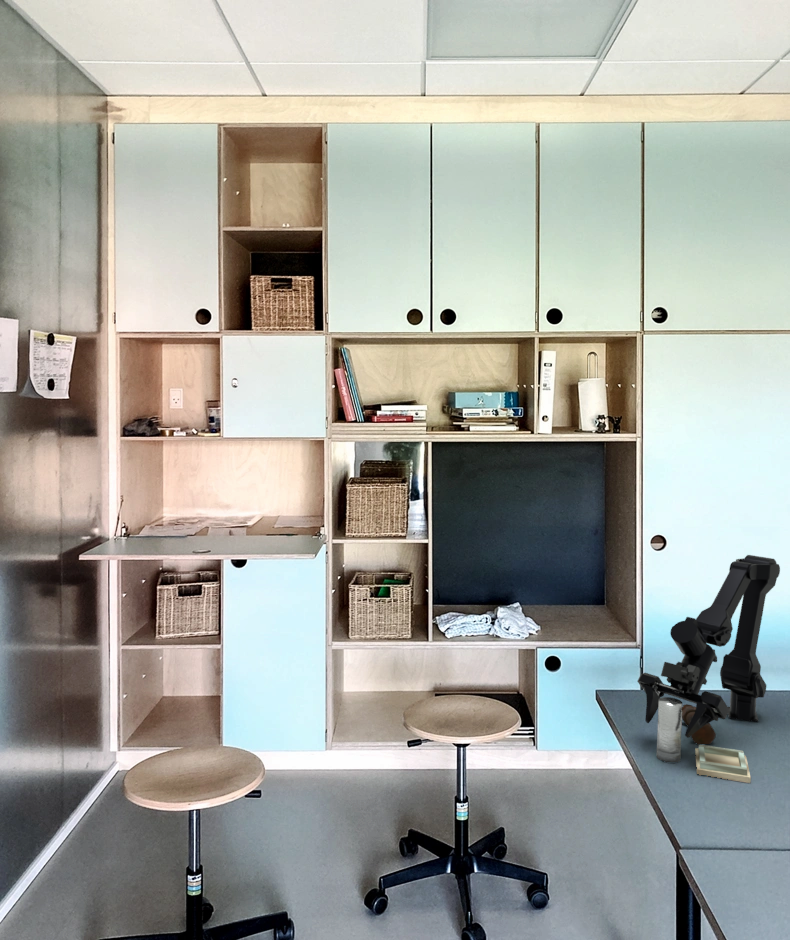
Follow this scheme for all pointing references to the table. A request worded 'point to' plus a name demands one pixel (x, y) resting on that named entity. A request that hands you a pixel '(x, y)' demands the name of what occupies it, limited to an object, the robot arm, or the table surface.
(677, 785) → the table surface
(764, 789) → the table surface
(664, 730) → the grey cylindrical piece
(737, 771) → the tray
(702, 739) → the bolt
